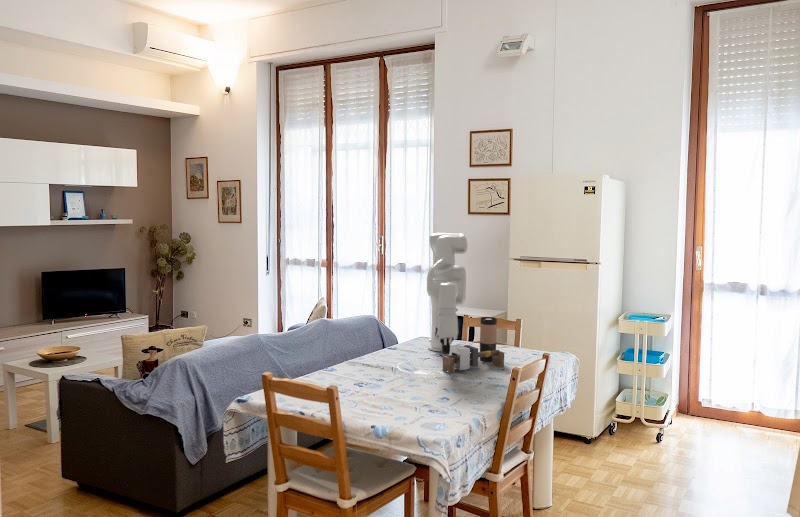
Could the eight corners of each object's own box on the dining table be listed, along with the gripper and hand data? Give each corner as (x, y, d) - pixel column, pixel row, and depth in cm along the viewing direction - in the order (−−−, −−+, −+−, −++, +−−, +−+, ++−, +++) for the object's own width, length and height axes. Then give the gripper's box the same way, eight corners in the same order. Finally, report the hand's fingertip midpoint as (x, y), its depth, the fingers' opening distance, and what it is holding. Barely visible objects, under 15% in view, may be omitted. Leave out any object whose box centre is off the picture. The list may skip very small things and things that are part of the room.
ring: (473, 367, 294) (473, 349, 293) (462, 363, 301) (463, 345, 300) (477, 366, 295) (478, 348, 295) (467, 362, 302) (467, 344, 302)
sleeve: (459, 370, 290) (460, 349, 289) (448, 365, 298) (448, 345, 297) (469, 368, 293) (469, 348, 292) (457, 364, 300) (458, 344, 300)
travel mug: (495, 358, 319) (496, 317, 317) (496, 362, 311) (497, 320, 309) (479, 358, 320) (480, 316, 318) (479, 362, 312) (480, 319, 310)
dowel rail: (450, 373, 290) (450, 357, 289) (442, 370, 295) (442, 354, 294) (503, 366, 304) (504, 350, 303) (495, 363, 309) (496, 348, 308)
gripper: (456, 309, 297) (455, 350, 298) (427, 311, 290) (426, 353, 291) (466, 311, 290) (465, 353, 292) (436, 314, 283) (435, 357, 285)
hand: (445, 353), depth 291 cm, fingers closed
